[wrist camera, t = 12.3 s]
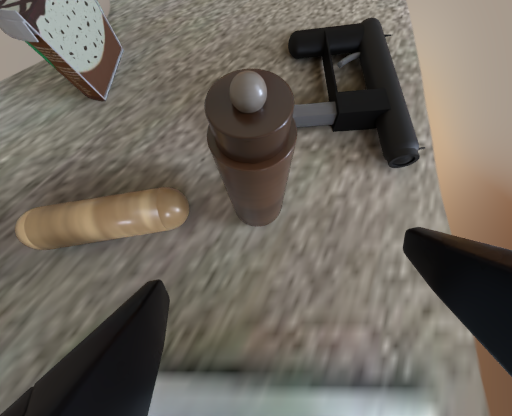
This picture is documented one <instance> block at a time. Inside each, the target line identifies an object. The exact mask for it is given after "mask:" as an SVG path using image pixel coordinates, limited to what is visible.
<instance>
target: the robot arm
mask: <svg viewBox="0 0 512 416" xmlns="http://www.w3.org/2000/svg"><path fill="white" fill-rule="evenodd" d="M403 251H404V253H405V255H406V256H407V257H408V259H409V260H410V261H411V263H412V264H413V265H414V267H415V268H416V269H417V271H418V272H419V273H420V275H421V276H422V277H423V278H424V280H425V281H426V282H427V284H428V285H429V286H430V287H431V289H432V290H433V291H434V292H435V293H436V295H437V296H438V297H439V298H440V299H441V300H442V301H443V302H444V303H445V304H446V306H447V307H448V308H449V309H450V310H451V311H452V312H453V313H454V314H455V315H456V317H457V318H458V319H459V320H460V321H461V322H462V323H463V324H464V325H465V326H466V327H467V329H468V330H469V331H470V332H471V333H472V334H473V335H474V336H475V337H476V338H477V339H478V341H479V342H480V343H481V344H482V345H483V346H484V347H485V348H486V349H487V350H488V352H489V353H490V354H491V355H492V356H493V357H494V358H495V359H496V360H497V361H498V362H499V364H501V366H502V367H503V368H504V369H505V370H506V371H507V372H508V373H509V374H510V376H511V377H512V250H508V249H504V248H501V247H497V246H492V245H489V244H485V243H481V242H477V241H473V240H469V239H465V238H461V237H457V236H453V235H449V234H445V233H441V232H437V231H433V230H429V229H425V228H421V227H416V228H411V229H408V230H407V231H406V232H405V238H404V244H403ZM169 303H170V299H169V295H168V293H167V291H166V288H165V286H164V284H163V282H162V281H161V280H159V279H158V280H153V281H149V282H147V283H146V284H145V285H144V286H142V287H141V288H140V289H139V290H138V291H137V292H136V293H135V294H134V295H133V296H131V297H130V298H129V299H128V300H127V301H126V302H125V303H124V304H123V305H121V306H120V307H119V308H118V309H117V310H116V311H115V312H114V313H113V314H112V315H110V316H109V317H108V318H107V319H106V320H105V321H104V322H103V323H102V324H100V325H99V326H98V327H97V328H96V329H95V330H94V331H93V332H92V333H91V334H89V335H88V336H87V337H86V338H85V339H84V340H83V341H82V342H81V343H79V344H78V345H77V346H76V347H75V348H74V349H73V350H72V351H71V352H70V353H68V354H67V355H66V356H65V357H64V358H63V359H62V360H61V361H60V362H58V363H57V364H56V365H55V366H54V367H53V368H52V369H51V370H50V371H48V372H47V373H46V374H45V375H44V376H43V377H42V378H41V379H40V380H39V381H37V382H36V383H35V385H34V387H31V388H30V389H28V390H27V391H26V392H25V393H24V394H23V395H22V396H21V397H20V398H19V399H18V400H16V401H15V402H14V403H13V404H12V405H11V406H10V407H9V408H7V409H6V410H5V411H4V412H3V413H2V414H1V415H0V416H148V411H149V407H150V403H151V399H152V394H153V390H154V386H155V382H156V377H157V373H158V369H159V365H160V360H161V356H162V352H163V347H164V341H165V333H166V326H167V318H168V310H169Z"/></svg>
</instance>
